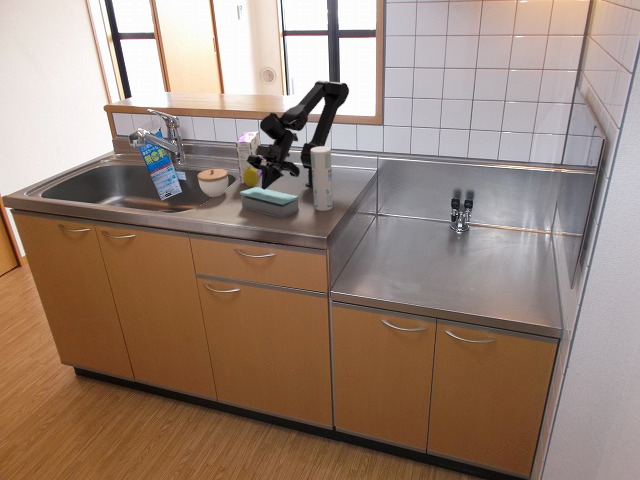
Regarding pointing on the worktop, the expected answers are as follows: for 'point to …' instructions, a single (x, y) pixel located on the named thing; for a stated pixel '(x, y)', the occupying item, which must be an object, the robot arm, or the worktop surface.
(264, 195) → the lid
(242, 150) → the candy box
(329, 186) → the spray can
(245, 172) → the lemon
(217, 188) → the lidded jar
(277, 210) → the grey rectangular box
